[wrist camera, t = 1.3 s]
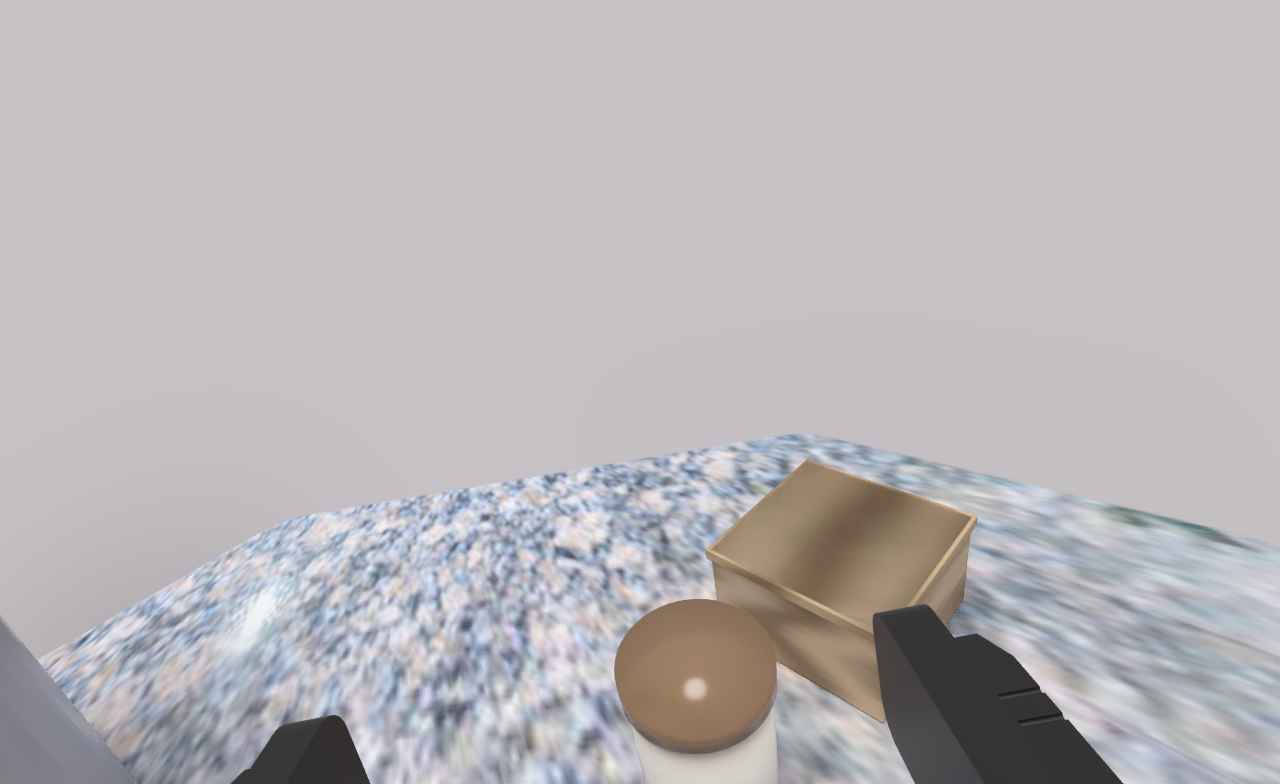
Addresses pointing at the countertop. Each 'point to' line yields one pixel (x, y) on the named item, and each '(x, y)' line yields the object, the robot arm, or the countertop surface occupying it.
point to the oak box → (840, 571)
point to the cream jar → (700, 695)
